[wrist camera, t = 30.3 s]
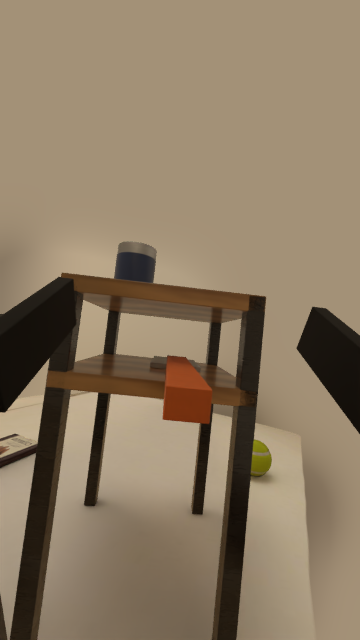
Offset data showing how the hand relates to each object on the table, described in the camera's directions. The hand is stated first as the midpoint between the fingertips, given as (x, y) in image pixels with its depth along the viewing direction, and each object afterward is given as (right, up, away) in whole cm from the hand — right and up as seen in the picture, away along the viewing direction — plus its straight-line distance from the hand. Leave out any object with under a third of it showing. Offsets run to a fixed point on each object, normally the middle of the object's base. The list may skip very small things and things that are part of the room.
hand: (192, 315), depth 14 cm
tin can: (-8, +2, +23) cm, 25 cm away
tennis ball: (+15, -32, +39) cm, 53 cm away
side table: (-6, -29, +16) cm, 33 cm away
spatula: (-1, -6, +11) cm, 13 cm away
